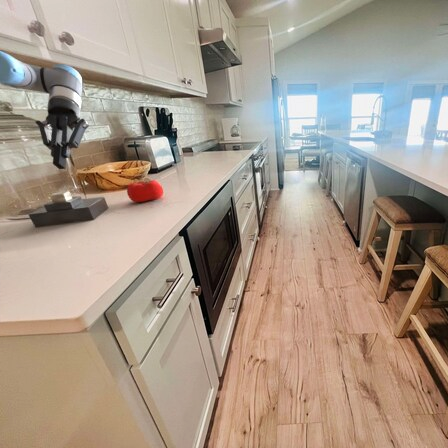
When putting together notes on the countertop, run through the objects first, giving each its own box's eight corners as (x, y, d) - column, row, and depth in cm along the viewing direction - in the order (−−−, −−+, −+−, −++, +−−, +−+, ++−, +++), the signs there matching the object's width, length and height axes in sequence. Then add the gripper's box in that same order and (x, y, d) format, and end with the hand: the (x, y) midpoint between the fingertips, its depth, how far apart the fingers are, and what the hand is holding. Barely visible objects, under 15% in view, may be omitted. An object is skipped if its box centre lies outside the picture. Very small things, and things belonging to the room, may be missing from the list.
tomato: (167, 199, 86) (162, 181, 84) (131, 206, 80) (125, 187, 78) (162, 193, 94) (157, 177, 91) (129, 200, 88) (123, 182, 85)
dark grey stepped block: (35, 227, 67) (24, 207, 65) (58, 214, 77) (49, 196, 74) (94, 219, 71) (85, 200, 68) (108, 208, 80) (101, 190, 78)
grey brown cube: (53, 204, 68) (49, 195, 67) (60, 200, 71) (56, 192, 70) (67, 202, 69) (63, 194, 68) (73, 199, 71) (69, 191, 70)
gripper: (95, 114, 83) (92, 171, 75) (49, 116, 80) (41, 176, 72) (81, 95, 76) (77, 156, 69) (30, 96, 73) (20, 160, 65)
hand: (59, 166), depth 70 cm, fingers closed
